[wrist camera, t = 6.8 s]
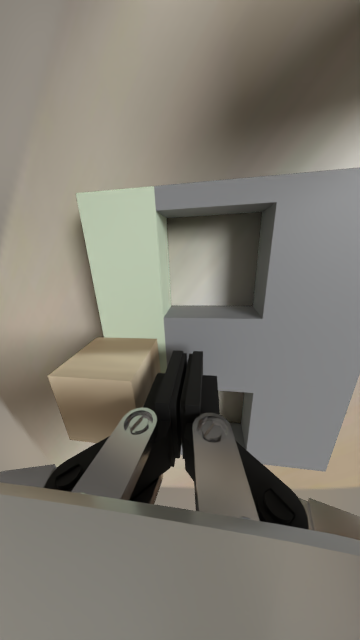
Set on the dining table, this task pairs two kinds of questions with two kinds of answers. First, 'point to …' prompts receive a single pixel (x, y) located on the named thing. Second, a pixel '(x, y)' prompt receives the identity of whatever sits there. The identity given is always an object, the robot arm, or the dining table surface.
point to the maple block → (104, 385)
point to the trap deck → (268, 304)
